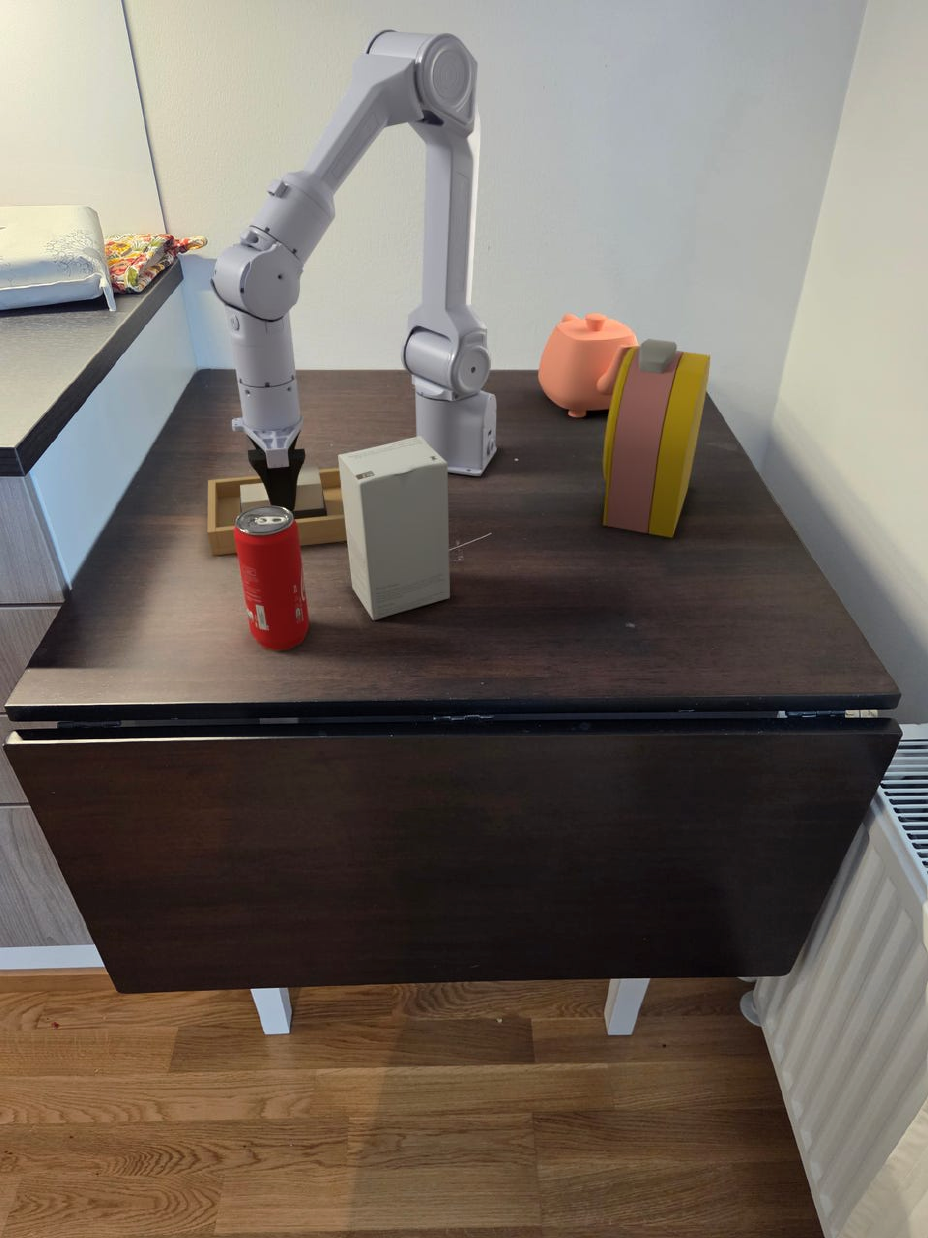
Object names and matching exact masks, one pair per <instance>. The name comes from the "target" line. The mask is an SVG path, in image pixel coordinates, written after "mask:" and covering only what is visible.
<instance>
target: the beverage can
mask: <svg viewBox="0 0 928 1238" xmlns="http://www.w3.org/2000/svg"><path fill="white" fill-rule="evenodd" d="M235 525H236V526H235V528H234V537H235V543H236V549H237V553H236V554H237V560H238V567H239V572H240V578H241V584H242V590H243V596H244V602H245V607H246V613H247V619H248V624H249V630H250V633H251V636H252V637H253V638H254V639H255V640H256V642H257V644H258V645H259V647H261V648H263V649H264V650H268V651H274V652H283V651H287V650H291V649H293V648H295V647H298V646H299V645H300V644H302V643H303V642H304V641H305V638H306V636H307V632H308V630H309V626H310V618H309V608H308V601H307V593H306V584H305V576H304V567H303V560H302V551H301V546H300V542H299V533H298V525H297V522H296V521H295V520H294V517H293V514H292V513H291V512H290V511H289V510H287V509H286V508H283V507H279V506H259V507H254V508H251V509H248V510H246V511H244V512H242V513H241V514H240V515H239V516H238V517H237V518H236V521H235Z"/></svg>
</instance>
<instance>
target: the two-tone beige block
mask: <svg viewBox="0 0 928 1238" xmlns="http://www.w3.org/2000/svg"><path fill="white" fill-rule="evenodd" d="M318 467H319V466H318V465H309V466H302V467H301V470H300V472H299V476H298V481H297V490H296V502H295V508H294V511H290V512H291V513H292V514H293V517H294V520H295V519H304V518H314V517H323V516H327V509H326V504H325V499H324V495H323V490H322V487H321V480H320V476H319V471H318V470H319V468H318ZM240 491H241V497H240V514H241V513H242V512H244V511H246V510H248V509H251V508H254V507H259V506H271V504H270V501H269V498H268V495H267V492H266V489H265V487H264V484H263V483H258V484H248V485H240Z"/></svg>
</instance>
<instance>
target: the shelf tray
mask: <svg viewBox="0 0 928 1238" xmlns="http://www.w3.org/2000/svg"><path fill="white" fill-rule="evenodd" d="M318 471H319V476H320V480H321V487H322V490H323V495H324V499H325V504H326V509H327V516H323V517H314V518H304V519H295V521H296V522H297V525H298V533H299V542H300V547H303V546H311V545H312V546H313V545H323V544H332V543H339V542H347V534H346V525H345V516H344V506H343V499H342V491H341V479H340V471H339V467H333V468H332V467H331V468H321V469H318ZM258 483H263V482H262V480H261V478H260V477H259V475H258V474H257V475H249V476H239V477H238V476H237V477H227V478H217V479H216V478H215V479H208V480H207V537H208V543H209V549H210V552H211V557H213V556H214V557H215V556H221V555H230V554H231V555H232V554H237V549H236V543H235V537H234V528H235V526H236V525H235V521H236V518H237V517H238V516H239V515H240V497H241V491H240V485H248V484H258Z"/></svg>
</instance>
